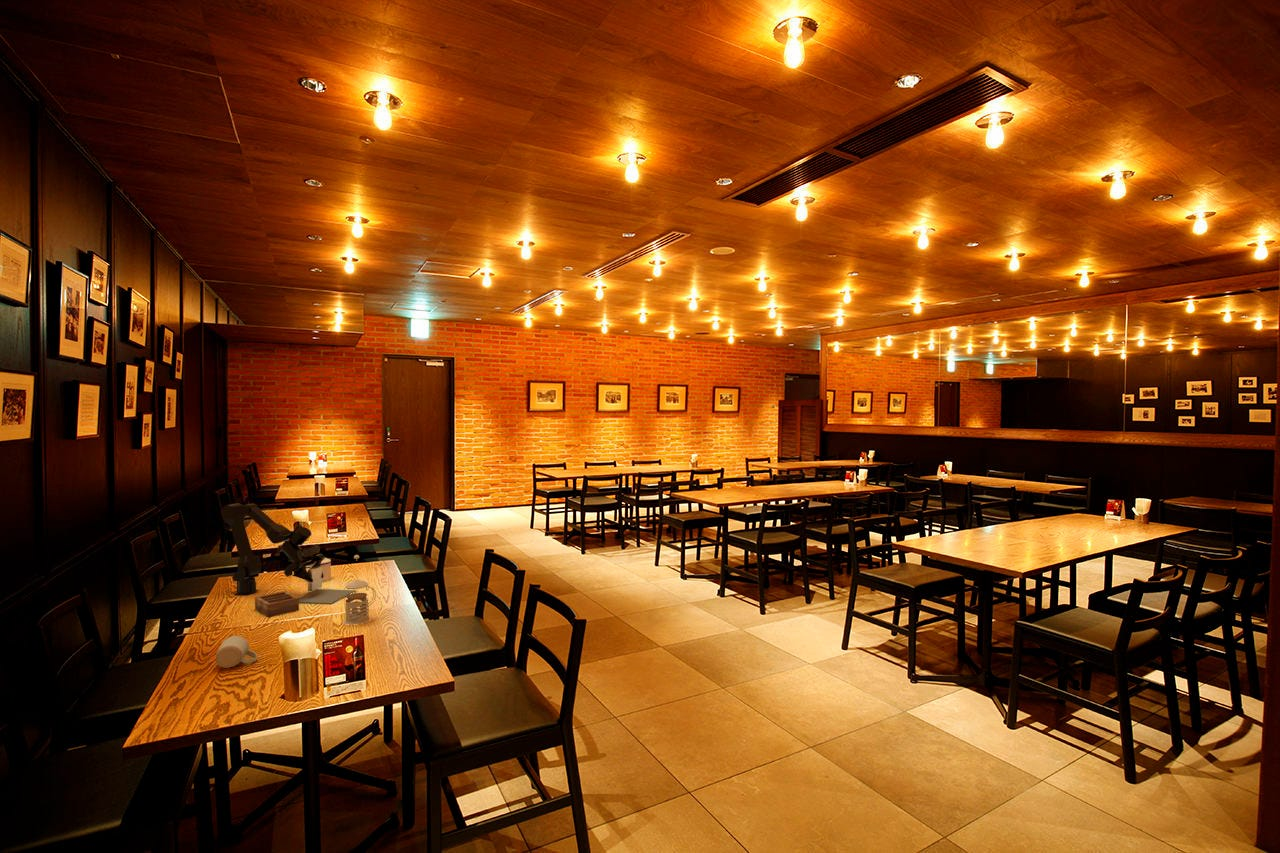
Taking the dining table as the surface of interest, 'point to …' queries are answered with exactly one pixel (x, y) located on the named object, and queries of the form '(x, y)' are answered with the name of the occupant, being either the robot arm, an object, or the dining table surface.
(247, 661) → the ceramic mug
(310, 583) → the wooden block
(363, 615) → the french press
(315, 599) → the rubber mat
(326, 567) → the teacup with lid
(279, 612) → the slot box
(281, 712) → the dining table surface
